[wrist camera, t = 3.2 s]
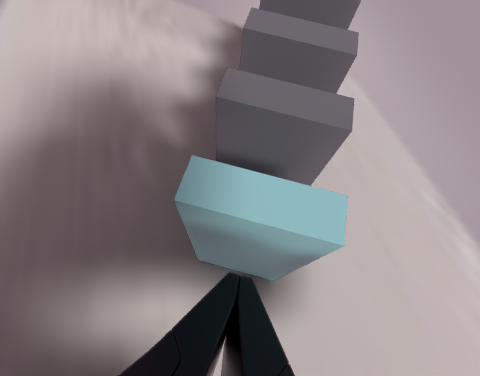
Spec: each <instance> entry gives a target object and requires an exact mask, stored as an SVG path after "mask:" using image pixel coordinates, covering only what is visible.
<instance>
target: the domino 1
mask: <svg viewBox="0 0 480 376" xmlns="http://www.w3.org/2000/svg"><path fill="white" fill-rule="evenodd" d="M360 2H361V0H260V8H259V9H261V10H265V11H269V12H273V13H278V14H282V15H286V16H290V17H295V18H299V19H303V20H307V21H312V22H316V23H320V24H324V25H328V26H333V27H337V28H341V29H345V30H348V27H349V25H350V23H351V21H352V19H353V17H354V14H355V12H356V10H357V8H358V6H359V4H360Z"/></svg>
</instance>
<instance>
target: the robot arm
mask: <svg viewBox="0 0 480 376" xmlns="http://www.w3.org/2000/svg"><path fill="white" fill-rule="evenodd" d="M224 340H225V343H224ZM223 344H224V351H223V360H222V370H221V376H295V375H294V373H293V370H292V368H291V366H290V364H289V361H288V359H287V357H286V355H285V352H284V350H283V348H282V346H281V343H280V341H279V339H278V337H277V334H276V332H275V330H274V327H273V325H272V323H271V321H270V318H269V316H268V314H267V312H266V309H265V307H264V305H263V302H262V300H261V298H260V296H259V293H258V291H257V289H256V287H255V284H254V282H253V280H252V279H251V278H249V277H246V276H240V275H238V274H235V273H231V272H229V273H228V274H227V275H226V276H225V277H224V278H223V279H222V280H221V281H220V282H219V283H218V284H217V285H216V286H215V287H214V288H213V289H212V290H210V291H209V292H208V293H207V294H206V295H205V296H204V297H203V298H202V299H201V300H200V301H199V302H198V303H197V304H196V305H195V306H194V307H193V308H192V309H191V310H190V311H189V312H188V313H187V314H186V315H185V316H184V317H183V318H182V319H181V320H180V321H179V322H178V323H177V324H176V325H175V326H174V327H173V328H172V330H170V331H169V332H168V333H167V334H166V335H165V336H164V337H163V338H162V339H161V340H160V341H159V342H158V343H156V344H155V345H154V346H153V347H152V348H151V349H150V350H149V351H148V352H147V353H145V354H144V355H143V356H142V357H141V358H139V359H138V360H137V361H136V362H134V363H133V364H132V365H131V366H129V367H128V368H127V369H126V370H124V371H123V372H122V373H120V374H119V375H118V376H213V373H214V370H215V367H216V364H217V361H218V359H219V356H220V353H221V350H222V347H223Z"/></svg>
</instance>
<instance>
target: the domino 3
mask: <svg viewBox="0 0 480 376" xmlns="http://www.w3.org/2000/svg"><path fill="white" fill-rule="evenodd" d="M353 108H354V98H350V97H346V96H342V95H338V94H334V93H330V92H326V91H322V90H318V89H314V88H310V87H306V86H302V85H298V84H293V83H289V82H285V81H281V80H277V79H273V78H269V77H265V76H261V75H257V74H253V73H249V72H245V71H241V70H237V69H233V68H229V67H227V70H226V72H225V75H224V77H223V80H222V82H221V85H220V87H219V89H218V92H217V94H216V161H217V162H221V163H224V164H228V165H232V166H236V167H240V168H244V169H247V170H251V171H255V172H259V173H263V174H267V175H270V176H274V177H278V178H282V179H286V180H289V181H293V182H297V183H301V184H305V185H309V186H311V184H312V183H313V182H314V180H315V179H316V178H317V176H318V175H319V174H320V172H321V171H322V170H323V168H324V167H325V166H326V164H327V163H328V162H329V160H330V159H331V158H332V157H333V155H334V154H335V153H336V151H337V150H338V149H339V147H340V146H341V145H342V143H343V142H344V141H345V139H346V138H347V137H348V135H349V134H350V133H351V131H352V123H353Z"/></svg>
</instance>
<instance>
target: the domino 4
mask: <svg viewBox="0 0 480 376" xmlns="http://www.w3.org/2000/svg"><path fill="white" fill-rule="evenodd" d="M347 198H348V196H347V195H343V194H339V193H335V192H332V191H328V190H324V189H320V188H316V187H312V186H309V185H305V184H301V183H297V182H293V181H289V180H286V179H282V178H278V177H274V176H270V175H267V174H263V173H259V172H255V171H251V170H247V169H244V168H240V167H236V166H232V165H228V164H224V163H221V162H217V161H213V160H209V159H205V158H201V157H198V156H194V155H192V156H191V159H190V161H189V164H188V166H187V169H186V171H185V173H184V176H183V178H182V181H181V183H180V186H179V188H178V191H177V193H176V196H175V198H174V202H175V204H176V207H177V209H178V212H179V214H180V217H181V219H182V222H183V224H184V227H185V229H186V231H187V234H188V236H189V239H190V241H191V244H192V246H193V249H194V251H195V254H196V256H197V259H198V260H200V261H204V262H207V263H211V264H214V265H218V266H222V267H225V268H229V269H232V270H236V271H240V272H243V273H247V274H250V275H254V276H258V277H261V278H265V279H268V280H272V281H274V280H276V279H278V278H280V277H282V276H284V275H286V274H288V273H290V272H292V271H294V270H297V269H299V268H301V267H303V266H305V265H307V264H309V263H311V262H313V261H315V260H317V259H319V258H321V257H323V256H325V255H327V254H329V253H331V252H333V251H335V250H337V249H339V248H341V247H343V246H344V242H345V227H346V213H347Z"/></svg>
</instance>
